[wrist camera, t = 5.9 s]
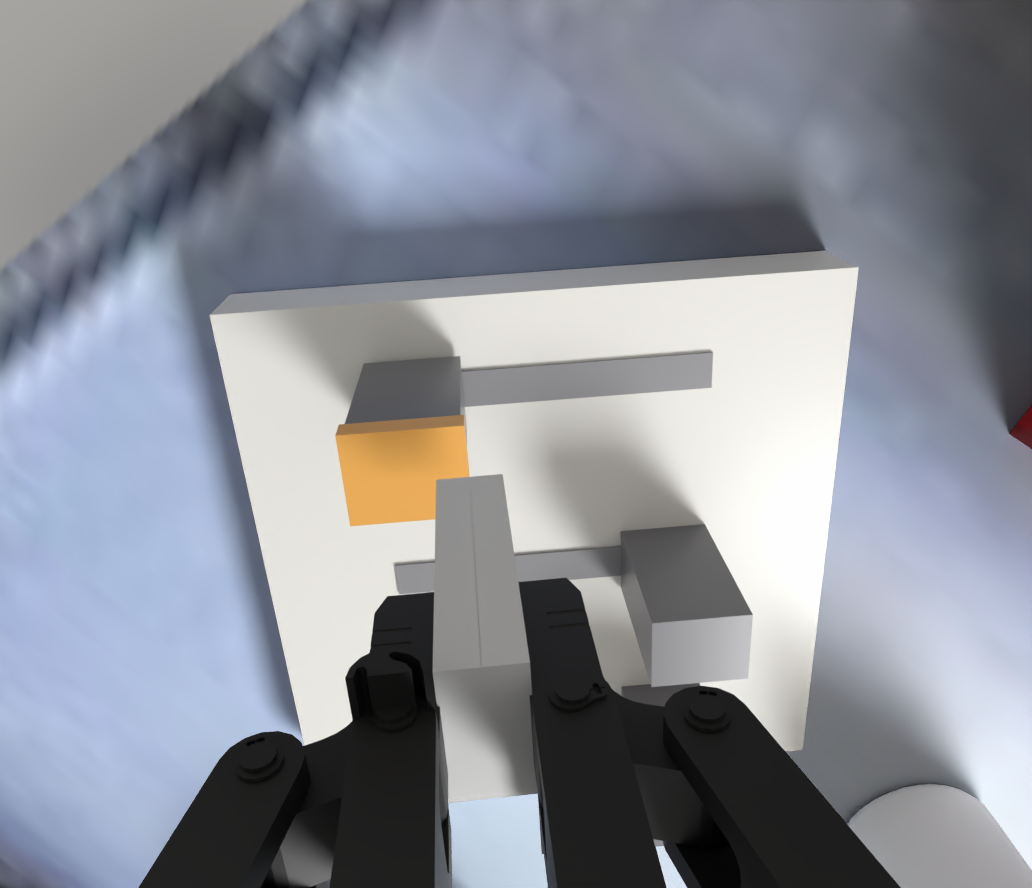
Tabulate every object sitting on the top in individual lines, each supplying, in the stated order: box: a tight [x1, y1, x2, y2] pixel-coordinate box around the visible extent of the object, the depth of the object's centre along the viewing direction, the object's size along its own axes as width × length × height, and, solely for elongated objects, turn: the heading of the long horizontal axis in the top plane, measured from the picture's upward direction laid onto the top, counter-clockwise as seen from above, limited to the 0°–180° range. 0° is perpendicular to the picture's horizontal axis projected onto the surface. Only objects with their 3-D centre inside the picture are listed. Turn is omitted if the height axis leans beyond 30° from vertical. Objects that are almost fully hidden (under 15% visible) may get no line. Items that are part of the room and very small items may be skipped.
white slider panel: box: [210, 251, 859, 846], centre depth 28 cm, size 20×20×8 cm
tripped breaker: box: [335, 356, 470, 526], centre depth 24 cm, size 3×3×6 cm
